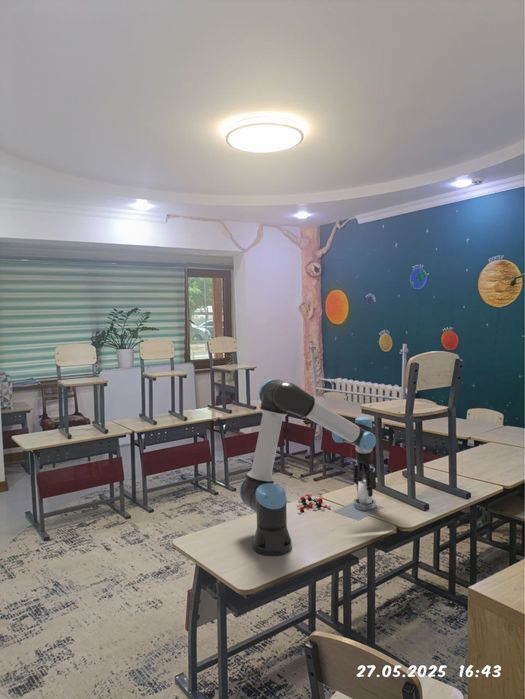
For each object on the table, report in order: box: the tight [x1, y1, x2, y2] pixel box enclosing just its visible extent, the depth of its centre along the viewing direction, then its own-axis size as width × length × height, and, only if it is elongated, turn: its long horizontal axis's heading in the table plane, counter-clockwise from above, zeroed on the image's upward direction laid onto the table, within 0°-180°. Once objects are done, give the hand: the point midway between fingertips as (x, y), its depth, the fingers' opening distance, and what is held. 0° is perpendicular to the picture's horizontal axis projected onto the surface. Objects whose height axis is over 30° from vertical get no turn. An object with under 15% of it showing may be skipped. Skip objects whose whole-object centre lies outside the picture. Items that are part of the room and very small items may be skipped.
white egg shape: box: [358, 479, 371, 505], centre depth 226 cm, size 6×6×10 cm
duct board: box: [332, 502, 385, 521], centre depth 223 cm, size 20×14×1 cm
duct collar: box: [352, 497, 377, 511], centre depth 226 cm, size 10×10×2 cm
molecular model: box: [296, 492, 331, 513], centre depth 229 cm, size 10×12×15 cm
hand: (364, 500), depth 226 cm, fingers closed on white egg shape, 5 cm apart
